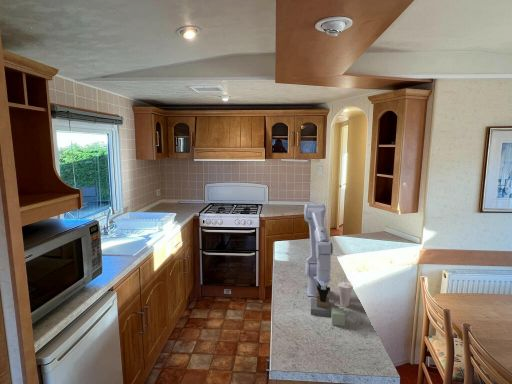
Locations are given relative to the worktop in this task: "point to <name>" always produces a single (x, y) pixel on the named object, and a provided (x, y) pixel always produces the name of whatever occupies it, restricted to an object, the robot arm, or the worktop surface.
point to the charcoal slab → (321, 308)
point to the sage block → (338, 316)
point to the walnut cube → (322, 304)
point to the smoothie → (345, 292)
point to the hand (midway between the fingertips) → (322, 297)
